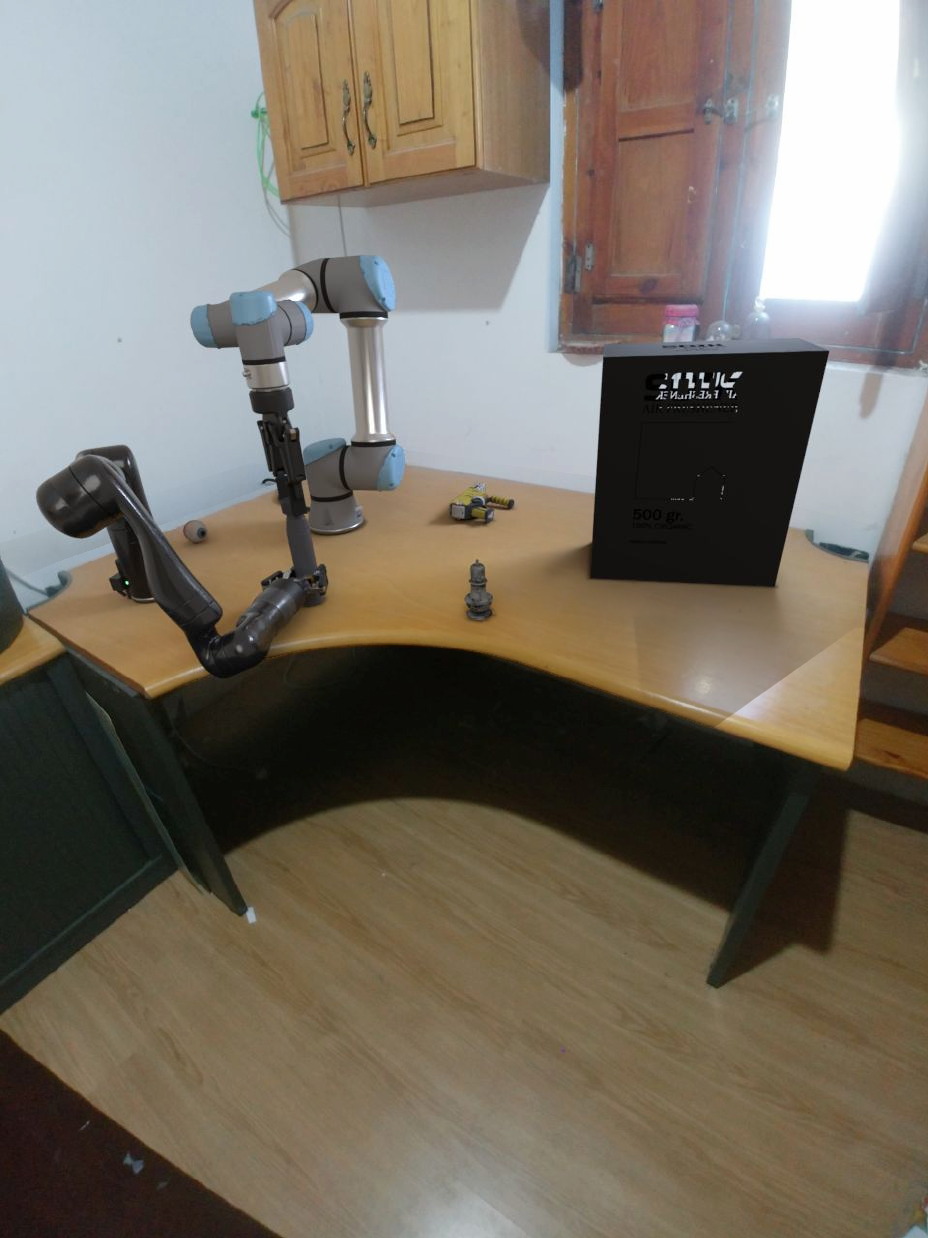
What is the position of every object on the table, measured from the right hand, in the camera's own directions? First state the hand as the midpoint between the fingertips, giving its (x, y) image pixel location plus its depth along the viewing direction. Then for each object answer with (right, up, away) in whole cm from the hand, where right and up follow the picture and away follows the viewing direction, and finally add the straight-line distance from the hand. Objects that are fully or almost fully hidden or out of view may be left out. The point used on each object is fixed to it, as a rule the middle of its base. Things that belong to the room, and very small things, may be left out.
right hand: (294, 511), depth 120 cm
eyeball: (-38, -1, +43) cm, 58 cm away
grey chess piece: (+37, -21, +1) cm, 42 cm away
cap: (0, +2, -1) cm, 2 cm away
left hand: (+1, -11, +9) cm, 14 cm away
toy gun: (+40, +10, +54) cm, 68 cm away
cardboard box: (+82, -9, +17) cm, 84 cm away
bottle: (+1, -18, +10) cm, 20 cm away
